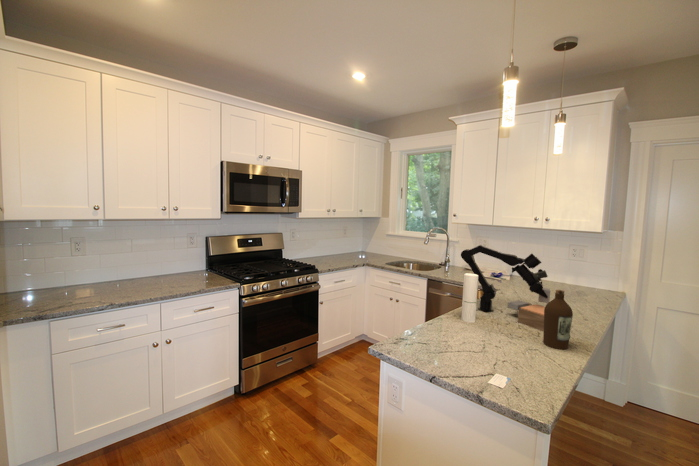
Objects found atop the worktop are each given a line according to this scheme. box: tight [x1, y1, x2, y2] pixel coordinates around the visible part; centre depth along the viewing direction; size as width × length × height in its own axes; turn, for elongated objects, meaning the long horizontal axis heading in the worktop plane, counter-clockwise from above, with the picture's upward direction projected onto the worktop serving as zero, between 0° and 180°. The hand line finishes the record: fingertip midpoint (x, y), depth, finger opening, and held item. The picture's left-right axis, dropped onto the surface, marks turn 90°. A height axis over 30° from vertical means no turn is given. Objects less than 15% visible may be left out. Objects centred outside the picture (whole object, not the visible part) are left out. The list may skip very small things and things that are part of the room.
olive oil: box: [542, 289, 574, 351], centre depth 142 cm, size 11×11×25 cm
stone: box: [537, 287, 551, 304], centre depth 174 cm, size 5×5×7 cm
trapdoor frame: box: [517, 308, 544, 332], centre depth 169 cm, size 18×14×8 cm
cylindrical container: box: [460, 272, 479, 324], centre depth 170 cm, size 7×7×25 cm
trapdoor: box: [507, 299, 545, 315], centre depth 173 cm, size 14×23×3 cm, turn 29°
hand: (547, 296), depth 174 cm, fingers closed on stone, 5 cm apart
